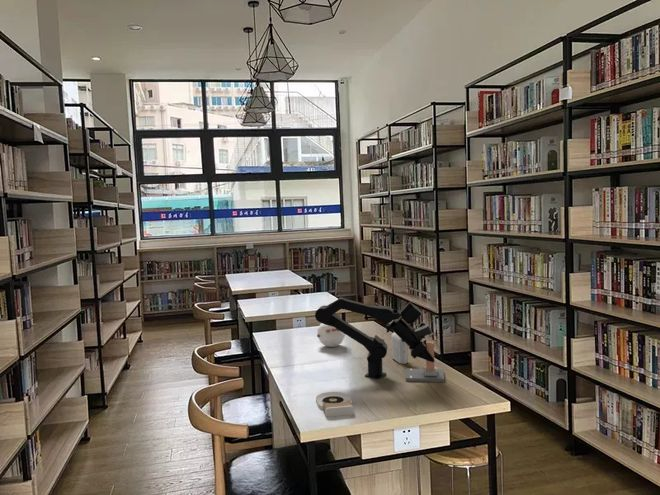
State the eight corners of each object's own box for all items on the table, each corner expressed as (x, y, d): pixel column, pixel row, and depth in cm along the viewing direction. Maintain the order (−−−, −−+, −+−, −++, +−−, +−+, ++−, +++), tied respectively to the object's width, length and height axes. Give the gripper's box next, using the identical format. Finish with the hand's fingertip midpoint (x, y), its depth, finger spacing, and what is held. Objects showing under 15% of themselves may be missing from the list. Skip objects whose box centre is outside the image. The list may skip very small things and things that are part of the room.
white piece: (341, 346, 271) (335, 320, 274) (352, 342, 247) (346, 312, 250) (314, 352, 267) (308, 325, 271) (323, 348, 244) (317, 318, 247)
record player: (321, 409, 171) (313, 389, 190) (322, 418, 171) (313, 397, 191) (357, 405, 173) (345, 386, 192) (357, 415, 173) (345, 394, 192)
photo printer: (409, 363, 226) (408, 334, 226) (400, 364, 225) (399, 335, 224) (399, 357, 236) (398, 329, 235) (390, 358, 235) (389, 330, 234)
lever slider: (424, 375, 205) (423, 344, 204) (423, 370, 212) (423, 340, 211) (437, 375, 204) (436, 345, 203) (436, 370, 211) (436, 340, 210)
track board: (405, 381, 204) (405, 377, 203) (406, 371, 215) (406, 368, 215) (444, 381, 201) (444, 378, 201) (442, 372, 213) (442, 369, 213)
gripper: (419, 322, 198) (450, 352, 197) (419, 312, 216) (447, 340, 215) (398, 343, 199) (428, 373, 199) (399, 331, 218) (427, 358, 217)
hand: (433, 360), depth 207 cm, fingers closed on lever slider, 3 cm apart
